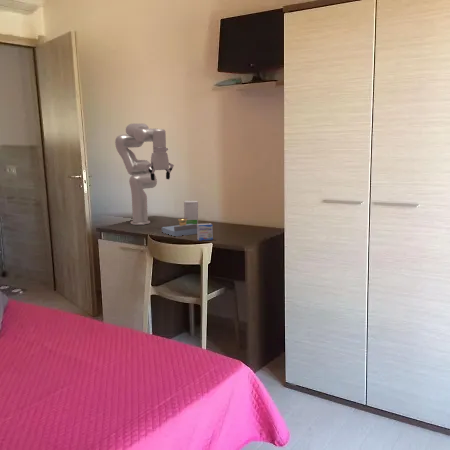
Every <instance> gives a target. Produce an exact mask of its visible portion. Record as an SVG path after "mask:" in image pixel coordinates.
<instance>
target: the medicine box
mask: <svg viewBox="0 0 450 450" xmlns="http://www.w3.org/2000/svg"><path fill="white" fill-rule="evenodd" d="M213 229H214V227H213V224H212V223H210V222H209V223H203V224H200V223H198V224H197V234H196V238H197V239H196V240H197V241H199V242H202V240H205V241H213V239H214V236H213V231H214V230H213Z"/></svg>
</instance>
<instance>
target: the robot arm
mask: <svg viewBox="0 0 450 450" xmlns="http://www.w3.org/2000/svg"><path fill="white" fill-rule="evenodd" d="M166 134H167V133H166V130H165V129H164V128H149V126H148V125H147V124H146V123H130V124H128V125H126V127H125V134H120V135H118V136H116V138H115V141H114V144H115V148H116V151H117V152H118V155H119V156H120V158H121V159H122V161H123V165H124V166H125V169H126V171H127V174H129V175H131V176H130V177H129V186H130V194H131V206H132V207H131V209H132V210H131V211H132V220H131V221H130V225H136V226H137V225H138V226H140V225H149V224H150V223H151V220H149V219H148V197H147V193H146V192H145V191H144V190H145V189H153V188H155V187H156V186H157V183H158V180H157V176H156V174H155V172H156V171H166V172H165V179H166V180H170V178H171V172H172V171H173V169H174V166H175V165H174V164H172V163H171V162H170V161H169V155H168V153H167V152H169V149H168V147H167V141H166V140H167V136H166ZM145 142H146V143H147V142H151V143H152V152H151V156H150V161H148V159H147V160H146V159H137V157H136V154H135V153H134V152H133V151H132V150H131V149H132V148H140V147H142V145H144V143H145Z"/></svg>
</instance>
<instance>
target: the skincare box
mask: <svg viewBox="0 0 450 450" xmlns="http://www.w3.org/2000/svg"><path fill="white" fill-rule="evenodd" d="M183 212H184V213H183V218H186V219H187V221H186V224H199V201H198V200H184V201H183Z"/></svg>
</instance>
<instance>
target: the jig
mask: <svg viewBox="0 0 450 450" xmlns="http://www.w3.org/2000/svg"><path fill="white" fill-rule="evenodd" d="M199 224H204V223H202V222H201V223H199ZM162 232H163V233H162ZM161 233H162V234H165V233H166V234H165V235H168V234H169V236H171V235H172V236H171V237H173V236H176V237H183V236H182V235H184V236H189V235H191V236H192V235H197V224H186V225H183V226H179V224H178V225H169V226H162V227H161Z"/></svg>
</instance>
